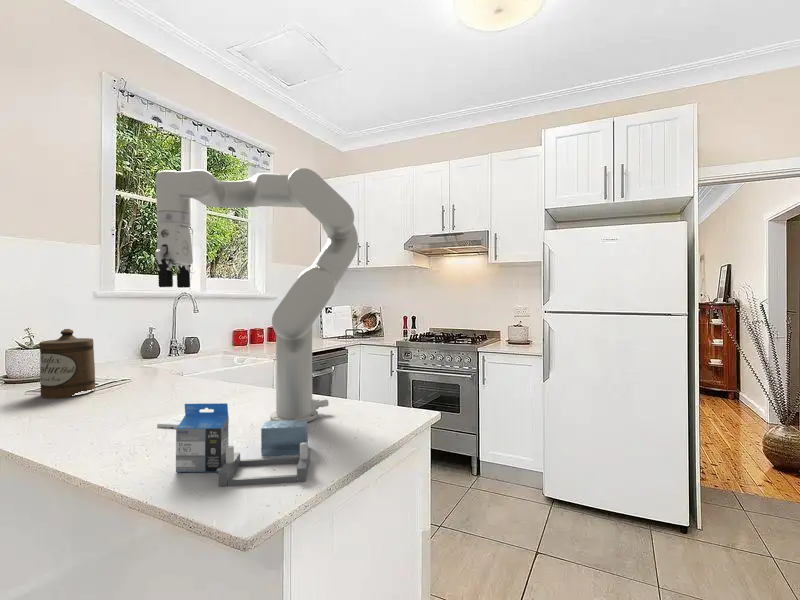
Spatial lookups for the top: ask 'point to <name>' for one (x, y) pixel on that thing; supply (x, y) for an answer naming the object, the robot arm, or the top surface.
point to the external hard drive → (174, 421)
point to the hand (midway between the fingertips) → (175, 287)
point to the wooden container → (66, 366)
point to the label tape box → (202, 438)
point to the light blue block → (283, 437)
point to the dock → (234, 462)
